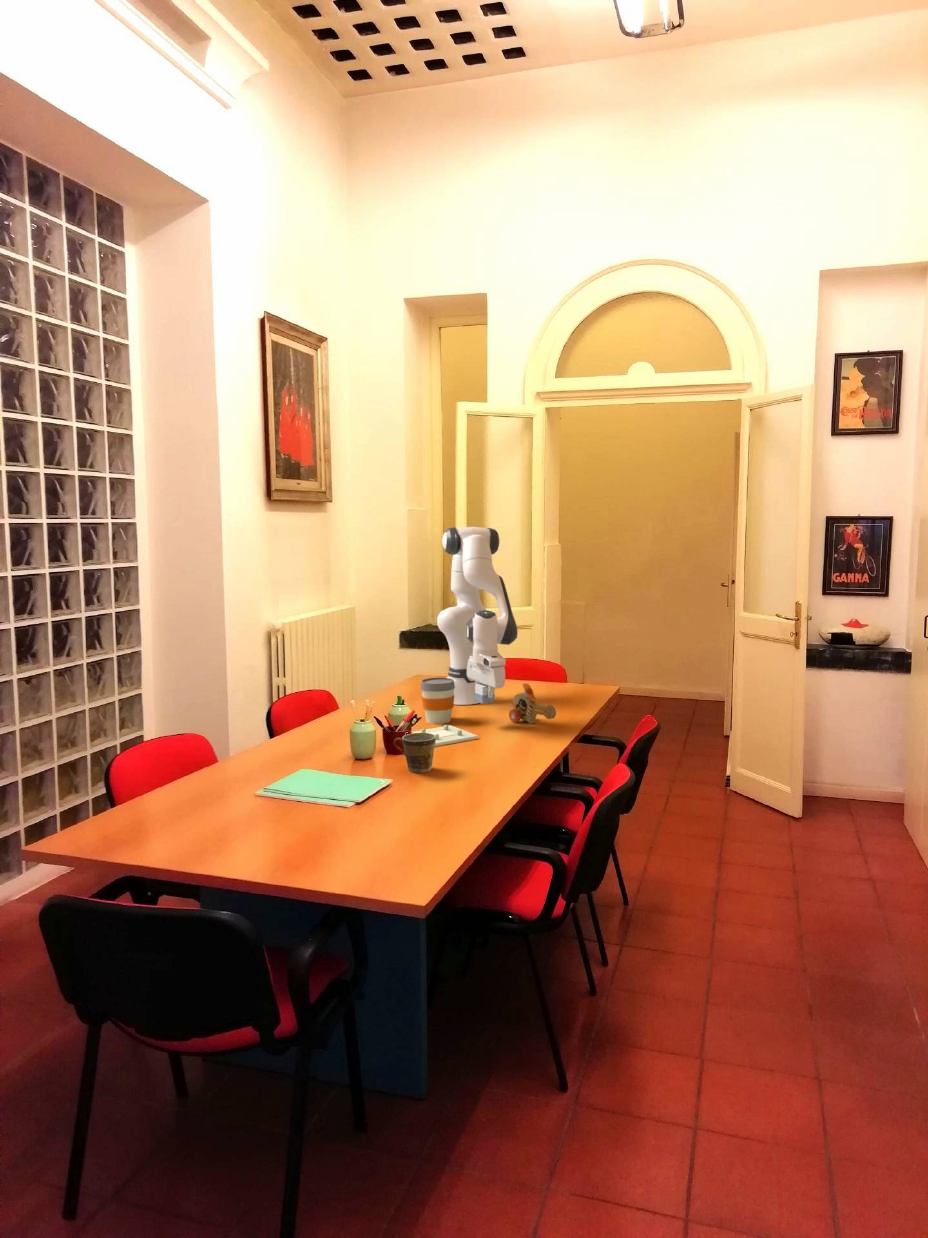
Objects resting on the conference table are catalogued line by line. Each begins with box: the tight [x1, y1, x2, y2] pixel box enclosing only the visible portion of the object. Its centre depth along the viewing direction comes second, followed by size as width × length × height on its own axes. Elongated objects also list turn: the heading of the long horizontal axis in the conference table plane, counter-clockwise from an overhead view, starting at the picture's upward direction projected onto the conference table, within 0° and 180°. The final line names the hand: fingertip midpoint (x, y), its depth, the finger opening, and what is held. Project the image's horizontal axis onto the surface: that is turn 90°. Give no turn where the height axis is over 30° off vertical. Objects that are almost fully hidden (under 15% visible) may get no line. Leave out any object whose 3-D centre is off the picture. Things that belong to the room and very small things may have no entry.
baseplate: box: [412, 724, 479, 747], centre depth 297 cm, size 18×18×2 cm
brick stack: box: [475, 684, 496, 705], centre depth 310 cm, size 5×5×6 cm
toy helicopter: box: [508, 683, 557, 725], centre depth 312 cm, size 8×21×14 cm, turn 38°
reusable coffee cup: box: [420, 677, 455, 725], centre depth 320 cm, size 12×13×15 cm
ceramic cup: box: [393, 733, 436, 774], centre depth 260 cm, size 13×10×10 cm
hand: (484, 695), depth 310 cm, fingers closed on brick stack, 5 cm apart
